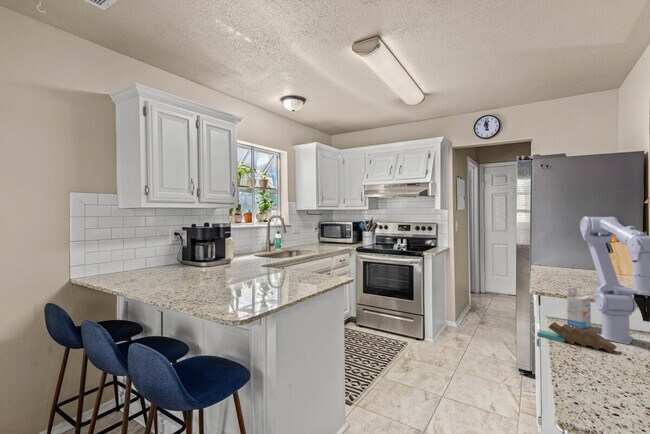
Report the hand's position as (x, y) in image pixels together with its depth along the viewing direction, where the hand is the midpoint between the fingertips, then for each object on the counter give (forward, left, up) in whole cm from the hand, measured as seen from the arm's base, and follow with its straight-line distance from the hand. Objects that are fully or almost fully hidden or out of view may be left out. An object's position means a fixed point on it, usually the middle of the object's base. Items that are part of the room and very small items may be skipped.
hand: (646, 321), depth 102 cm
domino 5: (+4, -7, -10) cm, 13 cm away
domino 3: (+4, -14, -10) cm, 17 cm away
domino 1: (+4, -20, -10) cm, 22 cm away
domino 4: (+4, -10, -10) cm, 15 cm away
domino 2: (+4, -17, -10) cm, 20 cm away
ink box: (-20, -21, -11) cm, 31 cm away
